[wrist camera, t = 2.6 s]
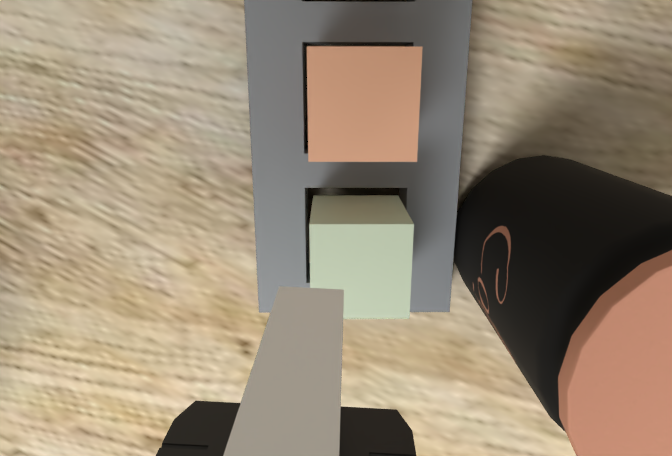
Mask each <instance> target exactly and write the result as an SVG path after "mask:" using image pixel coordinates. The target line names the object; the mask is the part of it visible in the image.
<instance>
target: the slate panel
mask: <svg viewBox="0 0 672 456" xmlns="http://www.w3.org/2000/svg"><path fill="white" fill-rule="evenodd" d="M244 6H245V27H246V48H247V69H248V90H249V112H250V133H251V154H252V175H253V196H254V217H255V238H256V259H257V280H258V301H259V312H271V310H272V307H273V304H274V301H275V298H276V295H277V292H278V289H279V286H284V287H303V288H310V263H309V253H308V188H399V198H400V200H401V202H402V203H403V205H404V207H405V209H406V211H407V212H408V214H409V216H410V218H411V220H412V222H413V223H414V234H413V255H412V276H411V296H410V312H449V311H450V298H451V284H452V271H453V257H454V243H455V230H456V216H457V203H458V189H459V175H460V162H461V148H462V135H463V121H464V107H465V94H466V80H467V67H468V53H469V39H470V26H471V12H472V0H406V2H333V1H305V0H244ZM305 45H405V47H423V48H422V69H421V89H420V110H419V131H418V152H417V162H308V145H307V123H306V59H305Z"/></svg>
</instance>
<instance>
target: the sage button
mask: <svg viewBox="0 0 672 456" xmlns="http://www.w3.org/2000/svg"><path fill="white" fill-rule="evenodd" d="M413 234H414V223H413V222H412V220H411V218H410V216H409V214H408V212H407V211H406V209H405V207H404V205H403V203H402V202H401V200H400V198H399V196H398V195H313V202H312V209H311V216H310V223H309V240H310V288H323V289H342V290H344V308H343V319H409V317H410V296H411V276H412V255H413Z"/></svg>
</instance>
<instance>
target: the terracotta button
mask: <svg viewBox="0 0 672 456" xmlns="http://www.w3.org/2000/svg"><path fill="white" fill-rule="evenodd" d="M422 48H423V47H395V46H307V104H308V162H417V152H418V131H419V110H420V89H421V69H422Z"/></svg>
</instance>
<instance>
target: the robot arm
mask: <svg viewBox="0 0 672 456" xmlns="http://www.w3.org/2000/svg"><path fill="white" fill-rule="evenodd" d="M343 308H344V290H342V289H323V288H303V287H284V286H279V289H278V292H277V295H276V298H275V301H274V304H273V307H272V310H271V313H270V316H269V319H268V322H267V325H266V328H265V331H264V334H263V337H262V340H261V343H260V346H259V349H258V352H257V355H256V358H255V361H254V364H253V367H252V370H251V373H250V376H249V379H248V382H247V385H246V388H245V391H244V394H243V397H242V401H241V403H226V402H208V401H195V402H194V403H193V404H191V405H190V406H189V407H188V408H187V409H186V410H185V411H183V412H182V413H181V414H180V415H179V416H178V417H177V418H175V419H174V421H173V423H172V425H171V427H170V429H169V431H168V433H167V435H166V437H165V439H164V441H163V443H162V447H161V448H159V450H158V452H157V454H156V456H416V451H415V445H414V439H413V433H412V430H411V428H410V427H409V426H408V424H407V423H406V422H405V420H404V419H403V418H402V416H401V415H400V414H399V412H398V411H397V410H392V409H374V408H356V407H341V376H342V342H343Z"/></svg>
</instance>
